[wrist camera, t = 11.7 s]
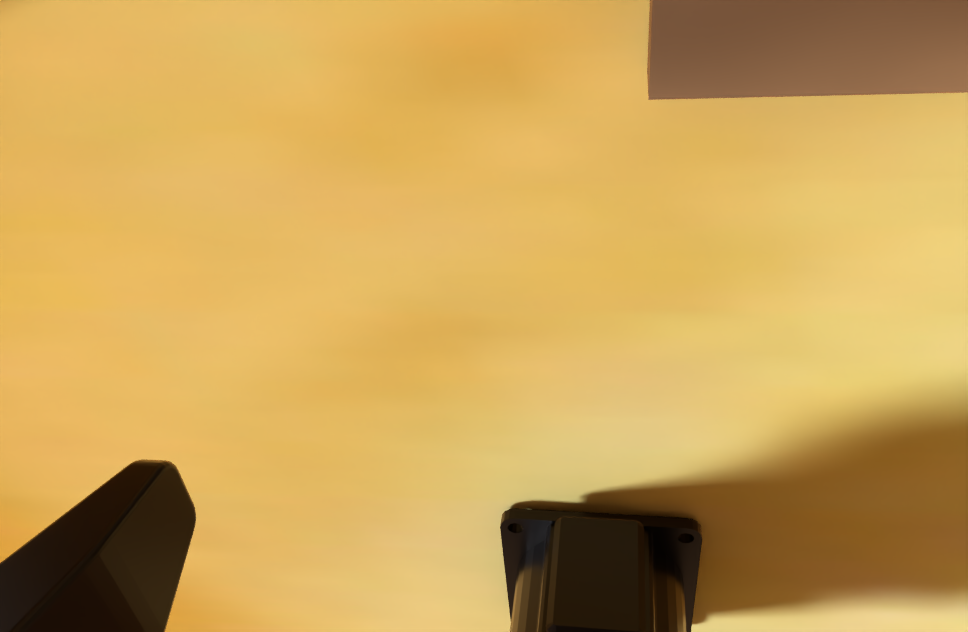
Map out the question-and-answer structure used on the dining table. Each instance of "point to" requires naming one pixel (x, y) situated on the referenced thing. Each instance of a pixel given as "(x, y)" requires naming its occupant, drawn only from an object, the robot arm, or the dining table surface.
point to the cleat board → (806, 48)
